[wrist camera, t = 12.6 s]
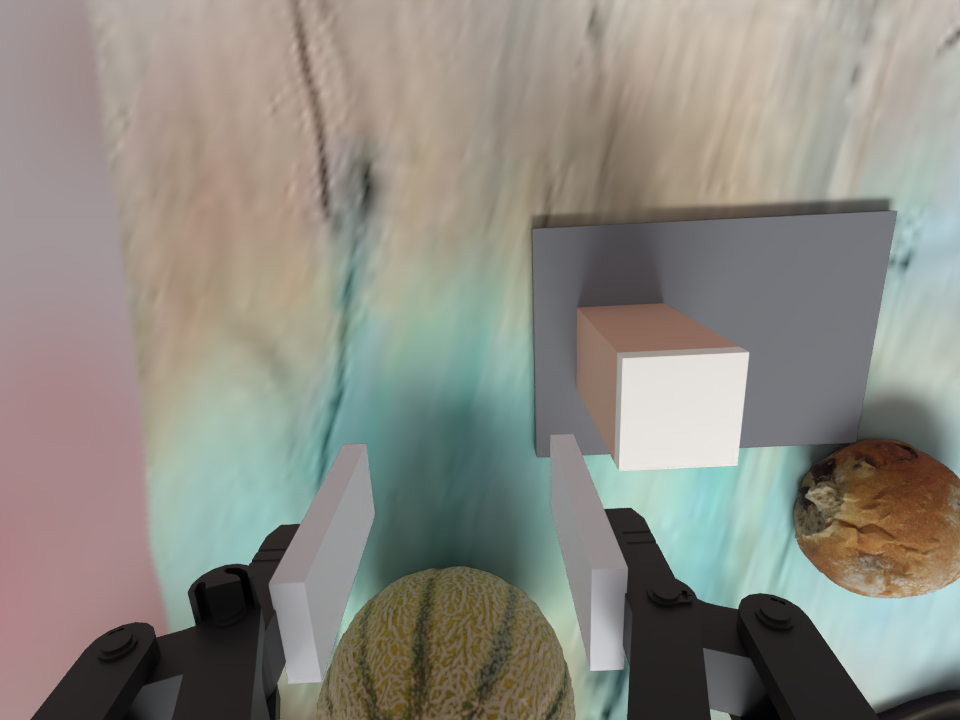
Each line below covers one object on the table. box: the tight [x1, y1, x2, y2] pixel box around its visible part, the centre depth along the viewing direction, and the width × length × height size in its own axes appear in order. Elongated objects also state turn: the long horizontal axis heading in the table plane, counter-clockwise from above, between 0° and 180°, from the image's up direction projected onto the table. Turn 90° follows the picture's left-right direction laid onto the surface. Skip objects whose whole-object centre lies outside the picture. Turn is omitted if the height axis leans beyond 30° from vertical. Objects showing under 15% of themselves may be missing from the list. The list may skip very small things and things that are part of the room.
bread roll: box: [794, 439, 960, 598], centre depth 33 cm, size 10×10×8 cm
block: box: [576, 303, 749, 471], centre depth 26 cm, size 5×5×10 cm
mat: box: [532, 211, 897, 457], centre depth 31 cm, size 20×14×1 cm
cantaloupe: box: [316, 566, 576, 720], centre depth 30 cm, size 15×15×15 cm
